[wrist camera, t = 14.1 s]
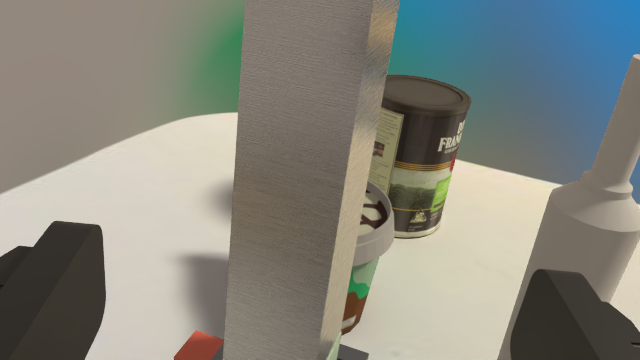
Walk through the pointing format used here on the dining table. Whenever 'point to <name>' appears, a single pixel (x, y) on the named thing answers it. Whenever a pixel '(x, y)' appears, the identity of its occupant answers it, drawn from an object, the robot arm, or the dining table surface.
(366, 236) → the food container
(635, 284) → the dining table surface
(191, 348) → the stand
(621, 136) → the bottle
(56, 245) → the robot arm
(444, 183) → the coffee can
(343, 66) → the post
